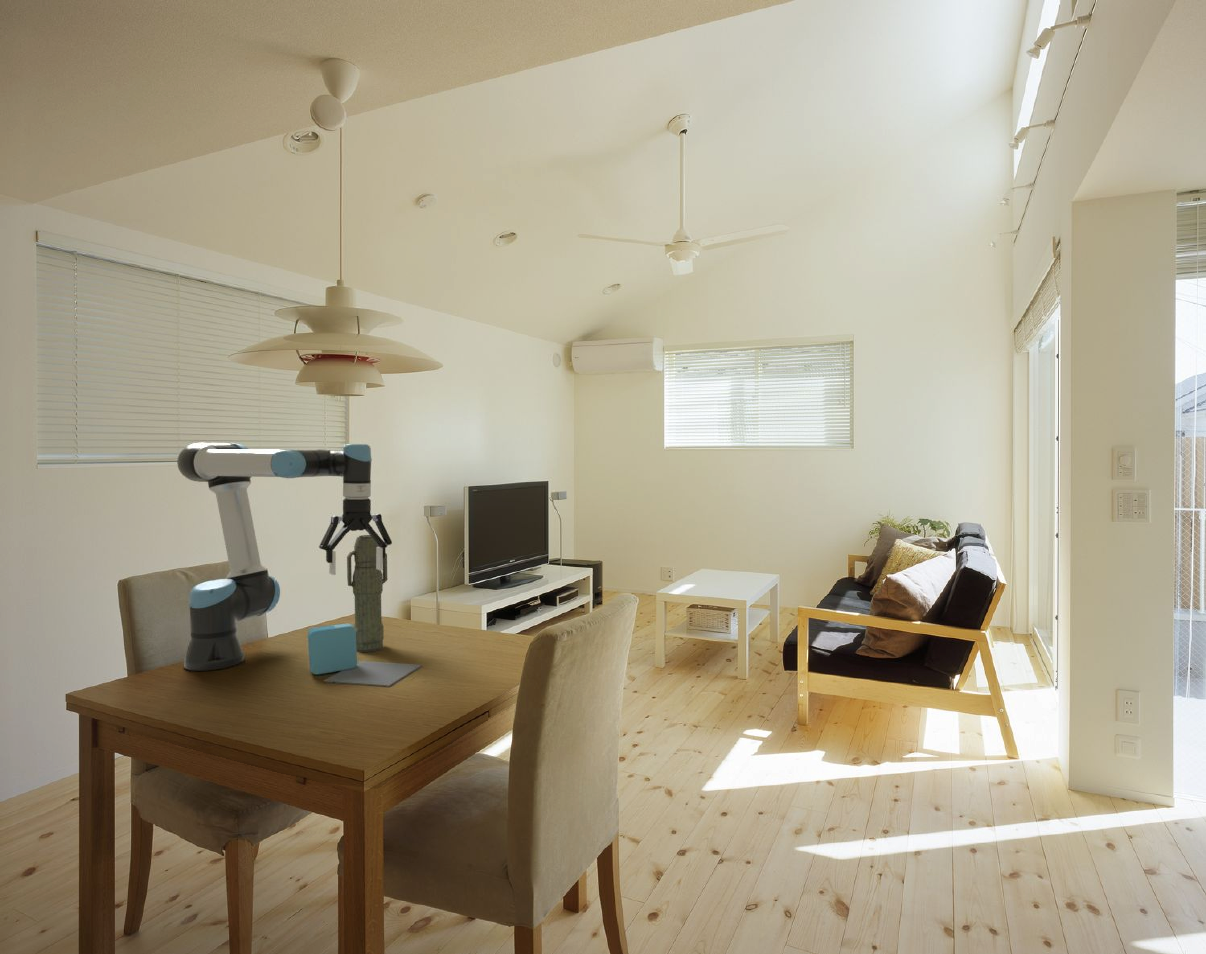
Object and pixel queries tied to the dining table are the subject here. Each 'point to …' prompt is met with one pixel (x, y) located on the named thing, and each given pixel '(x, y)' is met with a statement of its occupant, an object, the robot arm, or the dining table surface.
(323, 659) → the blue flat block
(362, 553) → the thermos
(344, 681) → the mat
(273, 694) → the dining table surface
